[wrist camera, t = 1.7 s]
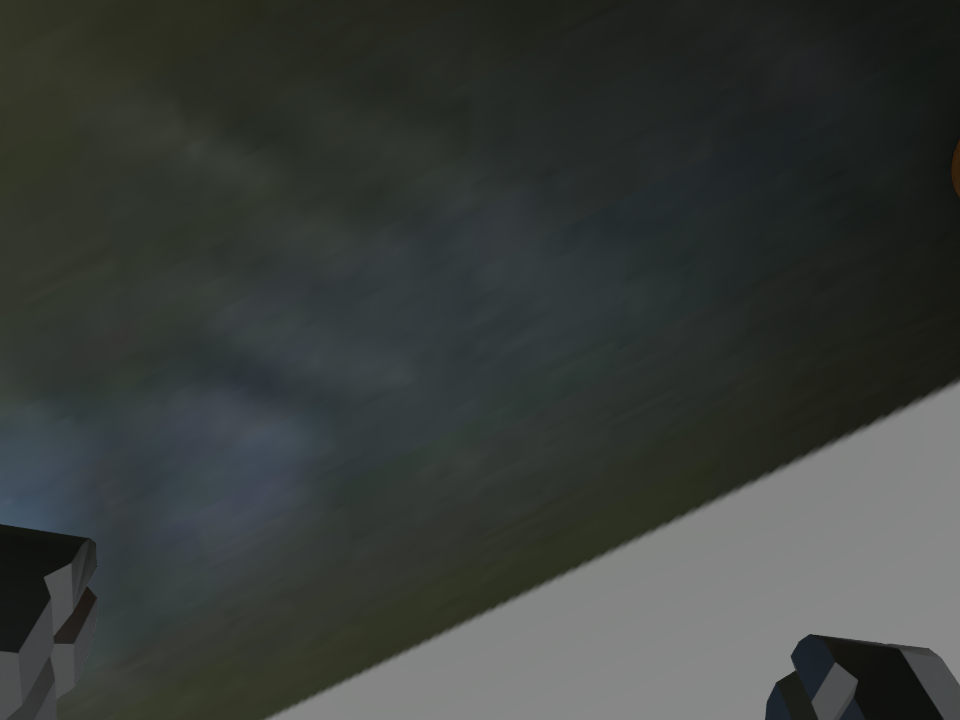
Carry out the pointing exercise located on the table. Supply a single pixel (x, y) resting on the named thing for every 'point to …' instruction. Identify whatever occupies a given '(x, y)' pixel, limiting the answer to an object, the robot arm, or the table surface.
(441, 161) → the table surface
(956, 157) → the disposable coffee cup
